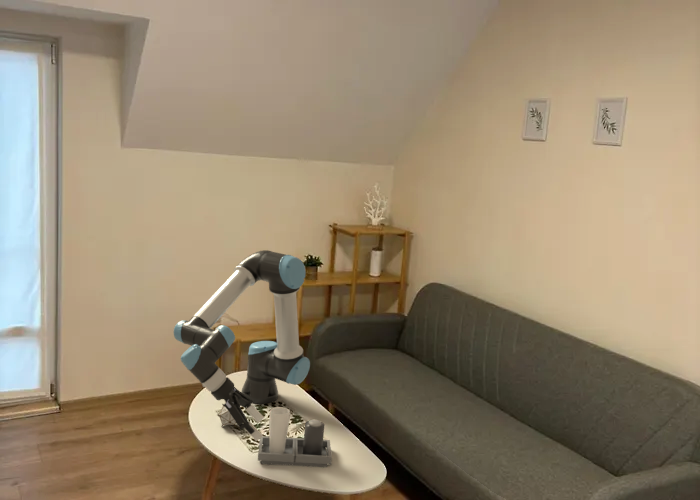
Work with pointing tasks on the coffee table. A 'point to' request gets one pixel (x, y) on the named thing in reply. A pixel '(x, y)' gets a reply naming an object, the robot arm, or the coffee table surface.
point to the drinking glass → (278, 429)
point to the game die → (226, 417)
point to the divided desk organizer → (300, 448)
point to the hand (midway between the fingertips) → (260, 429)
